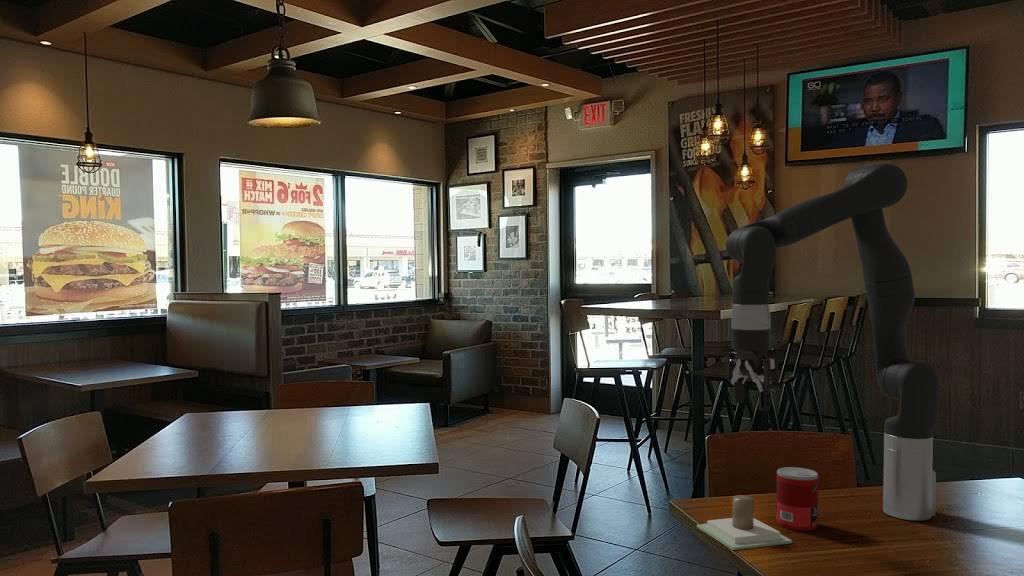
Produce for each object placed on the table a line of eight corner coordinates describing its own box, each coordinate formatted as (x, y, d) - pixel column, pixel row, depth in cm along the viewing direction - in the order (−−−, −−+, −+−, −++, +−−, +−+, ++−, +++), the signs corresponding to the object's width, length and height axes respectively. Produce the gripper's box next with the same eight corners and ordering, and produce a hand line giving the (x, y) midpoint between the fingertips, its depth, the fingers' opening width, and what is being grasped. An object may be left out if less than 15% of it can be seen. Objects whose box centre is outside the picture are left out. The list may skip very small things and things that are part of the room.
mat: (752, 521, 157) (752, 518, 157) (792, 543, 145) (792, 540, 145) (696, 527, 154) (696, 524, 154) (732, 550, 141) (732, 547, 141)
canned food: (821, 532, 151) (821, 478, 150) (779, 529, 152) (779, 475, 152) (813, 520, 158) (814, 468, 158) (773, 517, 160) (774, 465, 160)
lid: (750, 521, 156) (750, 489, 155) (780, 538, 146) (780, 503, 146) (707, 526, 153) (707, 493, 153) (735, 543, 143) (735, 508, 143)
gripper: (789, 328, 146) (790, 411, 147) (745, 323, 160) (746, 399, 161) (756, 330, 144) (757, 414, 145) (714, 324, 158) (715, 401, 158)
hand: (751, 406), depth 153 cm, fingers open, 8 cm apart
